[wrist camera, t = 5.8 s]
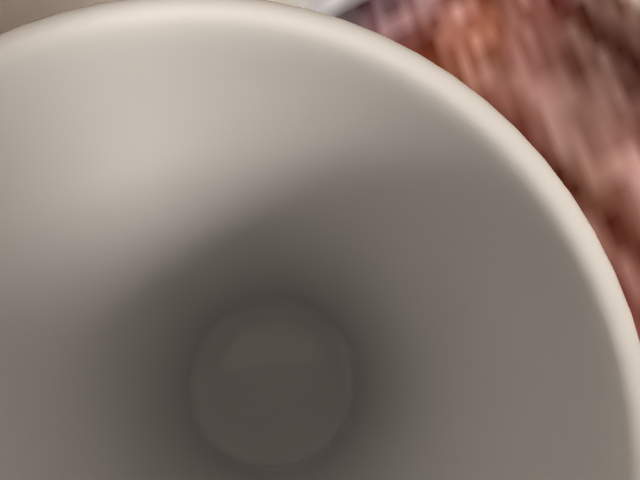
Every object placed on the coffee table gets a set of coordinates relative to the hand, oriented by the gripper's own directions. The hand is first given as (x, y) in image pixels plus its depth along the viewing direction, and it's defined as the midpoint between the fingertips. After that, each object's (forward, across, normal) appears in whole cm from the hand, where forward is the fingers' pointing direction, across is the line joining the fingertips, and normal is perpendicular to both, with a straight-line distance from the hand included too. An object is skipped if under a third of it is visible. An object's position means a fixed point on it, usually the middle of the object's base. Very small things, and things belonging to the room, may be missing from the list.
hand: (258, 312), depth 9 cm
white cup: (+6, 0, +8) cm, 10 cm away
